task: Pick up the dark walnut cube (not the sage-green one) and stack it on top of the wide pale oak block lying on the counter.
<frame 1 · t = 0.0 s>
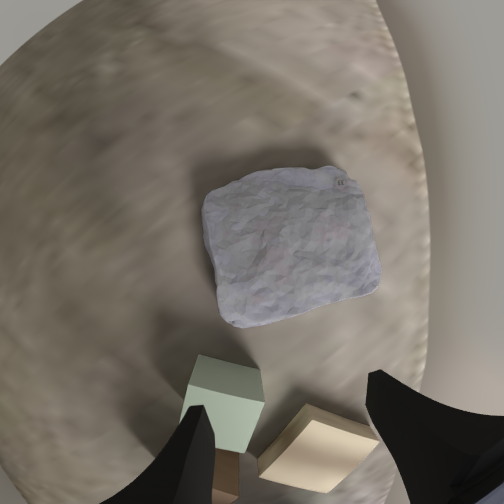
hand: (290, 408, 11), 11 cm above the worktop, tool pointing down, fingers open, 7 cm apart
walnut cube: (196, 457, 22), on the worktop
sage cube: (221, 387, 22), on the worktop
stone block: (285, 237, 22), on the worktop
oak block: (314, 443, 23), on the worktop
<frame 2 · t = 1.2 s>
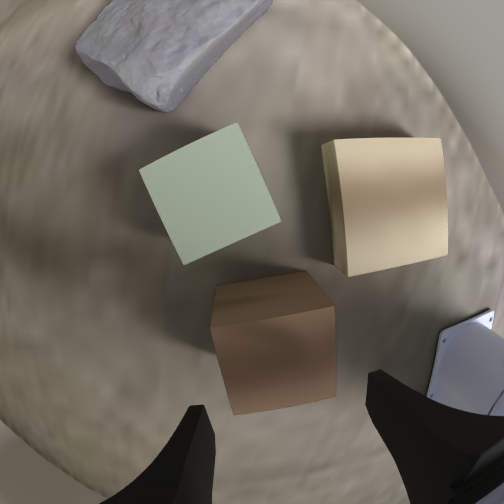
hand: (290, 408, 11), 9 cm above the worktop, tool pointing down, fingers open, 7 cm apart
walnut cube: (267, 318, 20), on the worktop
sage cube: (215, 191, 18), on the worktop
stone block: (170, 29, 15), on the worktop
oak block: (379, 199, 19), on the worktop
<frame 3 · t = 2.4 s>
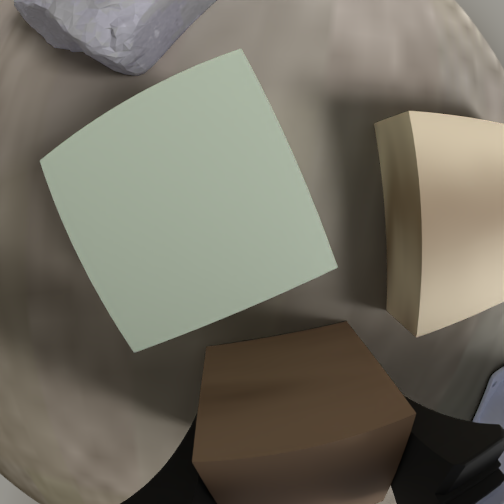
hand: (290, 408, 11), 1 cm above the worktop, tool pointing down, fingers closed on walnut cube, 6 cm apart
walnut cube: (284, 388, 12), on the worktop, touching gripper
sage cube: (201, 196, 10), on the worktop
oak block: (448, 210, 11), on the worktop
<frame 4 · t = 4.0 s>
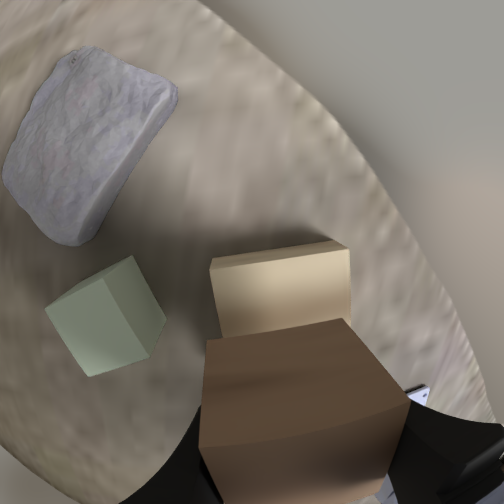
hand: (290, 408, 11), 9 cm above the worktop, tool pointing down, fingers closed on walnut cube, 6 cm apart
walnut cube: (281, 382, 13), point 7 cm above the worktop, touching gripper
sage cube: (121, 300, 19), on the worktop
stone block: (85, 138, 16), on the worktop
oak block: (280, 303, 20), on the worktop
when the fingers open (5 cm above the worktop, at t = 5.7 s): walnut cube stays where it is, point 2 cm above the worktop.
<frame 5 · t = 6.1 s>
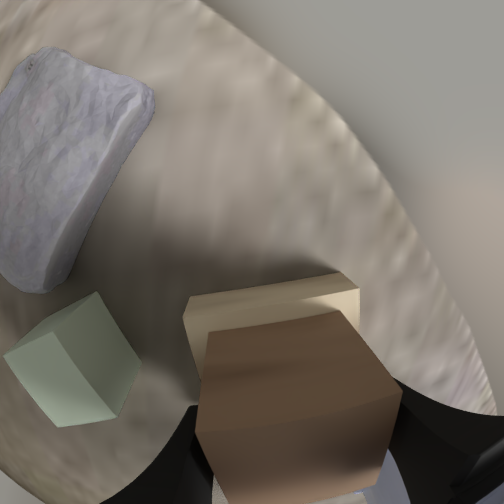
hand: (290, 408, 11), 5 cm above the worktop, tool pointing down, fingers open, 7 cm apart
walnut cube: (281, 374, 13), point 2 cm above the worktop
sage cube: (90, 340, 15), on the worktop
stone block: (51, 159, 13), on the worktop
oak block: (274, 345, 16), on the worktop
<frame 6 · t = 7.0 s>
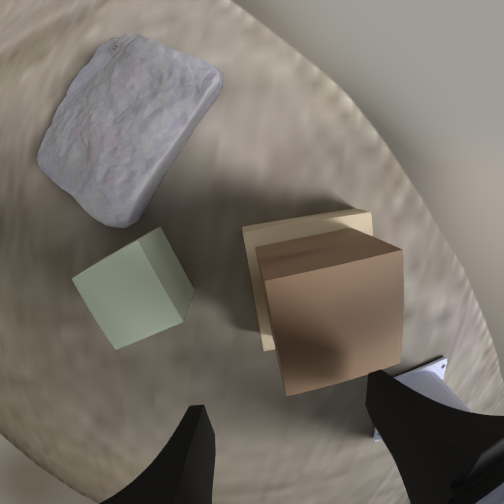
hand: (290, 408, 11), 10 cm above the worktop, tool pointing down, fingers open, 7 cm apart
walnut cube: (311, 284, 18), point 3 cm above the worktop, touching oak block
sage cube: (147, 273, 20), on the worktop
stone block: (125, 124, 17), on the worktop
oak block: (306, 271, 21), on the worktop, touching walnut cube
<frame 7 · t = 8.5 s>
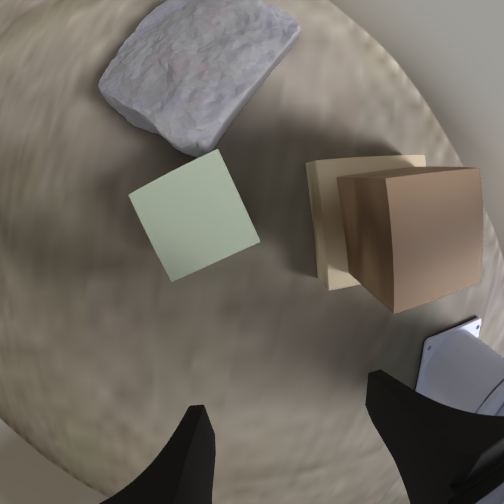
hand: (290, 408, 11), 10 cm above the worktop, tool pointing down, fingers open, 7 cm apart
walnut cube: (386, 218, 17), point 3 cm above the worktop, touching oak block
sage cube: (203, 208, 19), on the worktop
stone block: (195, 65, 17), on the worktop
oak block: (362, 214, 20), on the worktop, touching walnut cube
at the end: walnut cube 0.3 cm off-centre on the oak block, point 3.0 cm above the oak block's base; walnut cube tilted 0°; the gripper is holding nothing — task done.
